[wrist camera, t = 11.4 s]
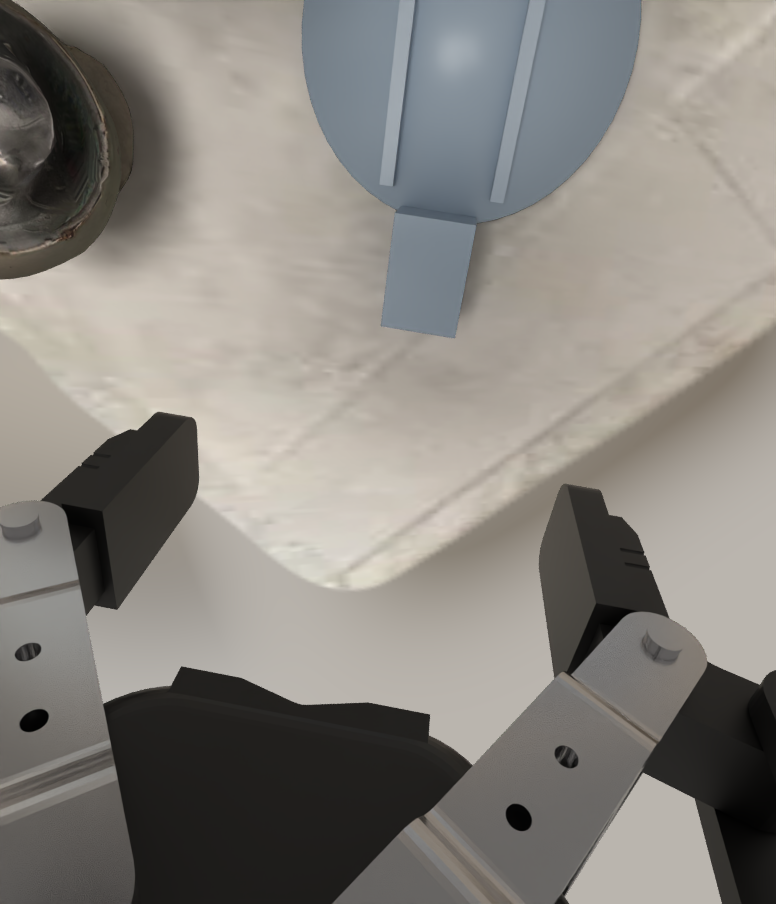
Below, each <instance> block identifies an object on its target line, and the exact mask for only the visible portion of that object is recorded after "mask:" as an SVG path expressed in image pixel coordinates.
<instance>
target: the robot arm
mask: <svg viewBox="0 0 776 904" xmlns="http://www.w3.org/2000/svg"><path fill="white" fill-rule="evenodd" d="M198 484H199V466H198V443H197V426H196V422H195V420H194V419H193V418H192V417H186V416H181V415H175V414H169V413H163V412H157V413H155V414H154V415H153V416H152V417H151V418H150V419H149V420H148V421H147V422H146V423H145V424H144V425H143V426H142V427H140V428H139V429H138V430H131V429H130V430H128V431H125V432H123V433H121V434H119V435H117V436H114V437H112V438H110V439H108V440H107V441H106V442H105V443H104V444H102V445H101V446H100V447H99V448H98V449H97V450H96V451H95V452H94V454H93V455H90V456H89V457H88V458H87V459H86V460H85V461H84V462H83V463H82V465H81V466H78V467H77V468H76V469H75V470H74V471H73V472H72V473H70V474H69V475H68V476H67V477H66V478H65V479H64V480H63V481H62V482H60V483H59V484H58V485H57V486H56V487H55V488H54V489H53V490H52V491H51V492H49V494H47V495H46V496H45V497H44V498H43V499H42V500H41V501H23V502H17V503H12V504H9V505H5V506H2V507H0V904H569V903H568V901H567V900H566V898H565V896H566V894H567V893H568V891H569V889H570V888H571V886H572V885H573V883H574V881H575V880H576V878H577V877H578V875H579V873H580V872H581V870H582V869H583V867H584V865H585V864H586V862H587V860H588V859H589V857H590V856H591V854H592V852H593V851H594V849H595V848H596V846H597V844H598V843H599V841H600V840H601V838H602V836H603V835H604V833H605V832H606V830H607V829H608V827H609V826H610V824H611V822H612V821H613V819H614V818H615V816H616V815H617V813H618V811H619V810H620V808H621V806H622V805H623V804H624V802H625V800H626V799H627V797H628V796H629V794H630V792H631V791H632V789H633V788H634V786H635V785H636V783H637V782H638V780H639V778H640V777H641V775H642V774H643V773H645V774H647V775H649V776H651V777H653V778H655V779H657V780H659V781H661V782H663V783H665V784H667V785H669V786H671V787H673V788H675V789H677V790H679V791H681V792H683V793H685V794H687V795H689V796H691V797H693V798H695V801H696V805H697V809H698V813H699V817H700V820H701V825H702V828H703V832H704V836H705V839H706V844H707V847H708V851H709V855H710V859H711V863H712V867H713V870H714V874H715V878H716V882H717V886H718V890H719V894H720V897H721V901H722V904H776V670H775V671H772V672H770V673H769V674H768V675H766V677H765V678H764V680H763V681H762V683H761V684H760V685H759V684H756V683H754V682H752V681H749V680H747V679H745V678H742V677H740V676H737V675H735V674H733V673H730V672H728V671H726V670H723V669H721V668H719V667H717V666H715V665H713V664H711V663H709V662H708V661H707V658H706V654H705V651H704V649H703V647H702V645H701V644H700V642H699V641H698V640H697V639H696V638H695V637H694V636H693V635H692V633H690V632H689V631H688V630H687V629H686V628H684V627H683V626H681V625H680V624H678V623H677V622H675V621H673V620H671V619H670V618H669V616H668V613H667V611H666V608H665V605H664V603H663V600H662V597H661V595H660V592H659V590H658V587H657V584H656V582H655V579H654V577H653V574H652V571H651V570H649V567H650V566H649V564H648V561H647V558H646V556H644V551H643V548H642V545H641V543H640V540H639V538H638V535H637V534H636V532H635V531H634V530H633V529H632V528H631V527H630V526H629V525H628V524H627V523H626V522H625V521H624V520H623V518H622V517H617V516H611V515H609V514H608V511H607V508H606V505H605V502H604V499H603V496H602V493H601V491H600V490H598V489H592V488H586V487H581V486H574V485H569V484H563V485H562V486H561V488H560V490H559V492H558V495H557V498H556V501H555V504H554V507H553V510H552V513H551V516H550V519H549V522H548V525H547V528H546V531H545V534H544V537H543V540H542V544H541V548H540V555H539V572H540V579H541V586H542V593H543V600H544V607H545V615H546V622H547V629H548V635H549V643H550V650H551V657H552V663H553V671H554V680H553V681H552V682H551V683H550V684H549V685H548V686H547V687H546V688H545V689H544V690H543V691H542V693H541V694H540V695H539V696H538V697H537V698H536V699H535V700H534V701H533V702H532V703H531V704H530V705H529V706H528V707H527V709H526V710H525V711H524V712H523V713H522V714H521V715H520V716H519V717H518V718H517V719H516V720H515V721H514V722H513V723H512V724H511V726H510V727H509V728H508V729H507V730H506V731H505V732H504V733H503V734H502V735H501V737H499V738H498V739H497V740H496V742H495V743H494V744H493V745H492V746H491V747H490V748H489V749H488V750H487V751H486V752H485V753H484V754H483V755H482V756H481V757H480V759H479V760H478V761H477V762H476V763H475V764H474V765H472V764H470V762H469V761H467V760H466V759H465V758H464V757H463V756H461V755H460V754H459V753H458V752H456V751H455V750H454V749H452V748H451V747H449V746H448V745H446V744H444V743H443V742H441V741H439V740H437V739H435V738H433V737H431V736H429V721H430V715H429V714H424V713H419V712H414V711H409V710H404V709H398V708H393V707H388V706H382V705H378V704H373V703H346V704H321V705H301V704H297V703H294V702H292V701H290V700H288V699H286V698H283V697H281V696H279V695H277V694H275V693H273V692H270V691H268V690H266V689H264V688H262V687H260V686H257V685H255V684H253V683H251V682H249V681H247V680H245V679H242V678H239V677H233V676H228V675H222V674H218V673H213V672H208V671H202V670H197V669H192V668H187V667H181V668H180V670H179V672H178V674H177V676H176V678H175V679H174V681H173V683H172V685H171V686H163V687H156V688H149V689H144V690H140V691H137V692H132V693H129V694H127V695H124V696H121V697H118V698H115V699H113V700H111V701H109V702H106V703H104V704H103V701H102V696H101V691H100V686H99V681H98V675H97V670H96V665H95V660H94V655H93V650H92V645H91V640H90V634H89V629H88V624H87V619H86V616H87V614H88V613H89V611H90V610H91V609H92V608H93V606H94V605H96V606H101V607H106V608H111V609H116V610H117V609H118V608H119V607H120V605H121V604H122V602H123V601H124V599H125V598H126V597H127V595H128V594H129V592H130V591H131V590H132V588H133V587H134V585H135V584H136V583H137V581H138V580H139V578H140V577H141V576H142V574H143V573H144V571H145V570H146V568H147V567H148V566H149V564H150V563H151V561H152V560H153V559H154V557H155V556H156V554H157V553H158V551H159V550H160V549H161V547H162V546H163V544H164V543H165V542H166V540H167V539H168V538H169V536H170V535H171V533H172V532H173V531H174V529H175V528H176V526H177V525H178V523H179V522H180V521H181V519H182V518H183V516H184V515H185V514H186V512H187V511H188V509H189V508H190V507H191V505H192V503H193V501H194V499H195V497H196V494H197V490H198Z"/></svg>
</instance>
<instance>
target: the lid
mask: <svg viewBox="0 0 776 904" xmlns="http://www.w3.org/2000/svg"><path fill="white" fill-rule="evenodd" d="M640 22H641V0H304V8H303V19H302V54H303V63H304V72H305V78H306V83H307V87H308V91H309V96H310V100H311V103H312V106H313V109H314V112H315V114H316V117H317V120H318V123H319V125H320V127H321V129H322V131H323V133H324V135H325V137H326V140H327V142H328V143H329V145H330V146H331V148H332V150H333V151H334V153H335V154H336V156H337V158H338V159H339V161H340V162H341V163H342V164H343V166H344V167H345V168H346V169H347V171H348V172H349V173H350V174H351V176H352V177H353V178H354V179H355V180H356V181H358V182H359V183H360V184H361V185H362V186H363V187H364V188H365V189H366V190H367V191H368V192H370V193H371V194H372V195H374V196H375V197H376V198H378V199H379V200H380V201H382V202H383V203H385V204H387V205H389V206H390V207H392V208H394V209H396V210H397V211H396V212H395V217H394V225H393V233H392V241H391V249H390V257H389V265H388V273H387V281H386V289H385V297H384V305H383V313H382V321H381V326H383V327H389V328H395V329H401V330H407V331H413V332H419V333H425V334H431V335H437V336H443V337H449V338H455V335H456V330H457V325H458V319H459V314H460V309H461V304H462V299H463V293H464V288H465V283H466V278H467V272H468V267H469V262H470V257H471V251H472V246H473V241H474V236H475V231H476V223H481V222H486V221H491V220H496V219H499V218H502V217H505V216H508V215H511V214H514V213H516V212H518V211H520V210H522V209H524V208H526V207H528V206H530V205H533V204H534V203H536V202H537V201H539V200H540V199H542V198H543V197H545V196H547V195H548V194H550V193H551V192H552V191H554V190H555V189H556V188H557V187H558V186H560V185H561V184H562V183H563V182H565V181H566V180H567V179H568V178H569V177H570V176H571V175H572V174H573V173H574V172H575V171H576V170H577V169H578V168H579V167H580V166H581V165H582V164H583V163H584V161H585V160H586V159H587V158H588V156H589V155H590V154H591V152H592V151H593V150H594V148H595V147H596V146H597V144H598V143H599V142H600V140H601V139H602V137H603V135H604V134H605V132H606V130H607V129H608V127H609V125H610V124H611V122H612V120H613V118H614V116H615V114H616V112H617V109H618V107H619V105H620V103H621V101H622V99H623V96H624V94H625V91H626V88H627V85H628V82H629V79H630V76H631V73H632V69H633V65H634V60H635V56H636V51H637V47H638V40H639V31H640Z"/></svg>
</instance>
